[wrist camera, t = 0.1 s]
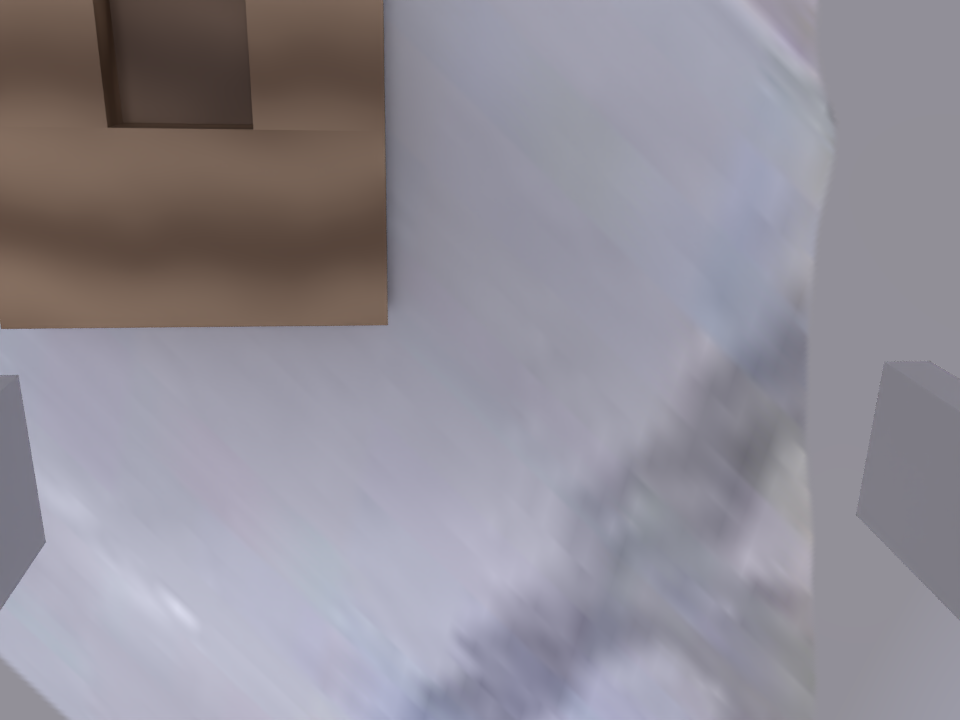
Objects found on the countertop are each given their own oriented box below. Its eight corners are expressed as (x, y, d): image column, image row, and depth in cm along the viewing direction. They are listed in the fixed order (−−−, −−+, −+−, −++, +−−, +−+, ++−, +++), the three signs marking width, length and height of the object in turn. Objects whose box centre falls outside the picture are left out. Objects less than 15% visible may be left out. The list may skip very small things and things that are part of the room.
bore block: (-63, -272, 33) (-104, -300, 30) (379, -248, 34) (379, -273, 32) (28, 308, 40) (1, 328, 37) (387, 305, 42) (387, 324, 39)
